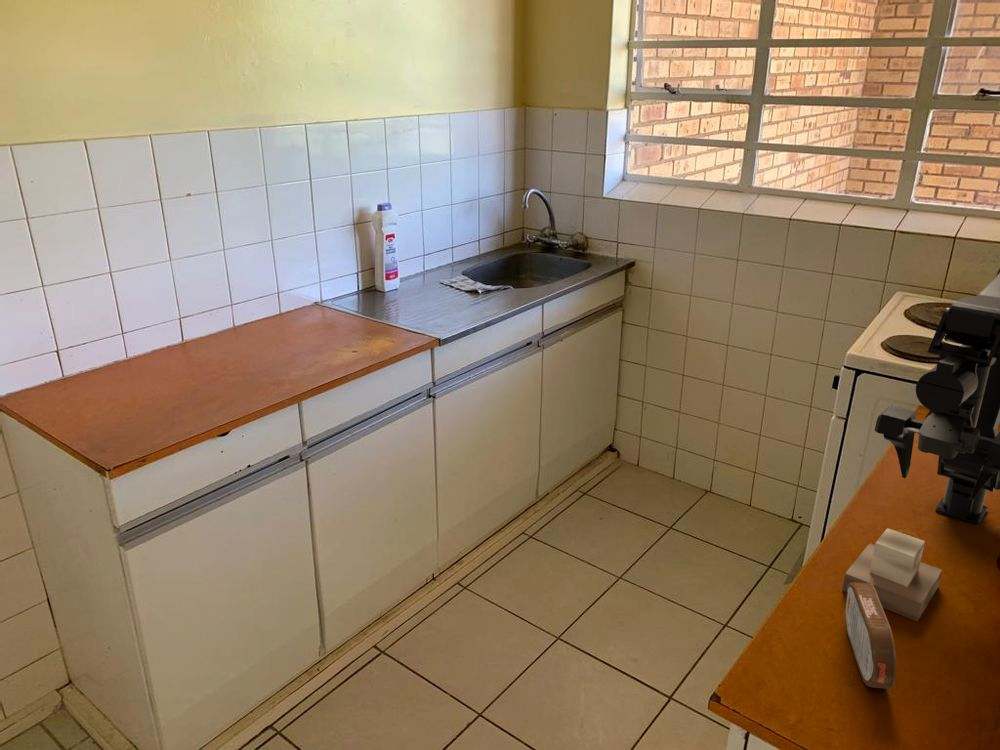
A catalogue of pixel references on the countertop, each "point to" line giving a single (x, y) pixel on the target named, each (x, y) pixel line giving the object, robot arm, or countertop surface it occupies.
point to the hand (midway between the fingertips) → (937, 487)
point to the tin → (870, 636)
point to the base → (896, 586)
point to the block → (897, 557)
